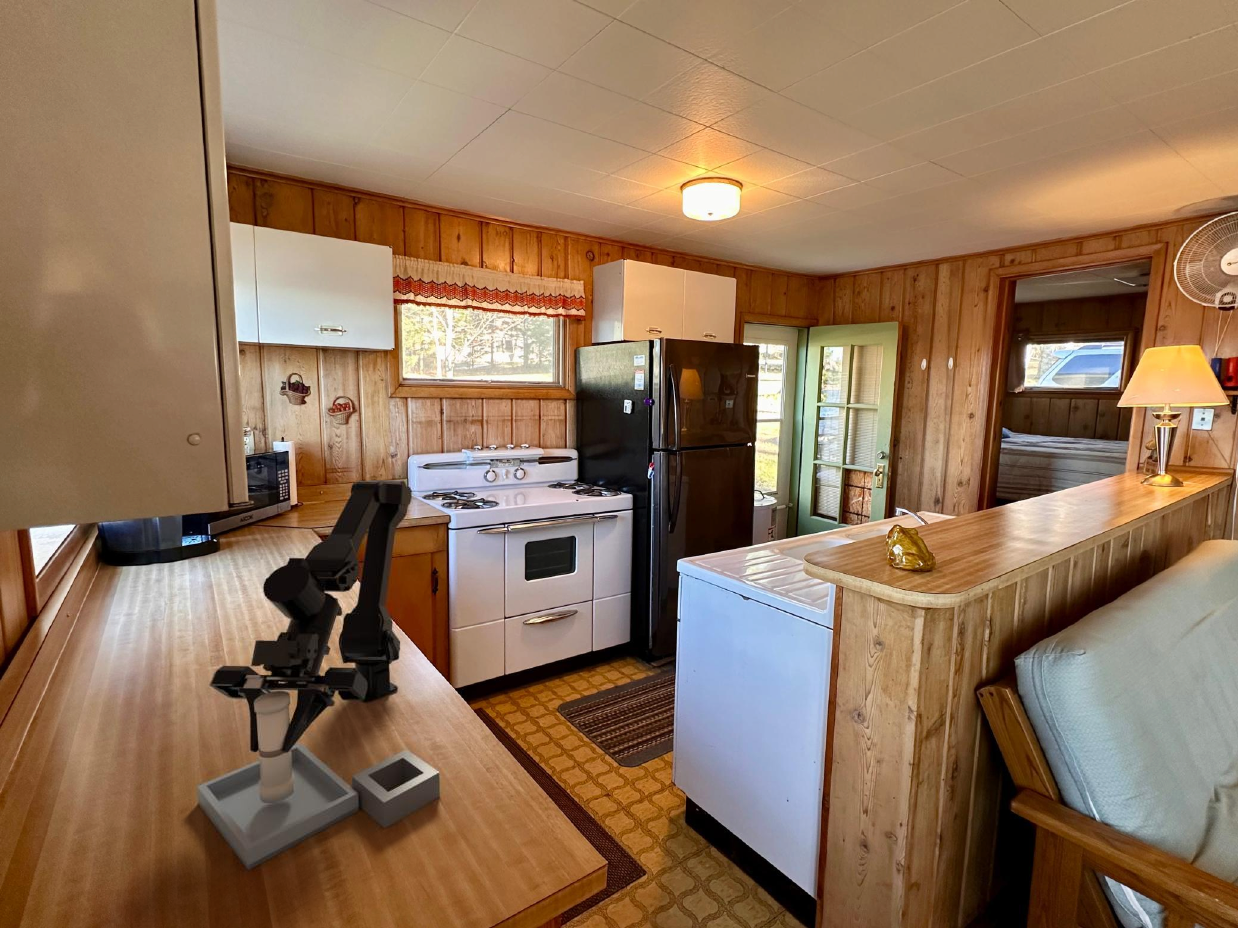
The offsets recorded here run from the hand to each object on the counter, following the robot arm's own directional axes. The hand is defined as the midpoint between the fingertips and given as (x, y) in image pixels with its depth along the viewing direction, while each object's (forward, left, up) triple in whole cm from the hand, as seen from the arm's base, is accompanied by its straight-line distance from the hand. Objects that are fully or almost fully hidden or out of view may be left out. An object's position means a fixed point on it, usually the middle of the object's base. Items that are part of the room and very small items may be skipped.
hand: (268, 751), depth 77 cm
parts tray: (-1, +1, -9) cm, 9 cm away
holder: (+9, +12, -9) cm, 17 cm away
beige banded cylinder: (-1, +1, -7) cm, 7 cm away
